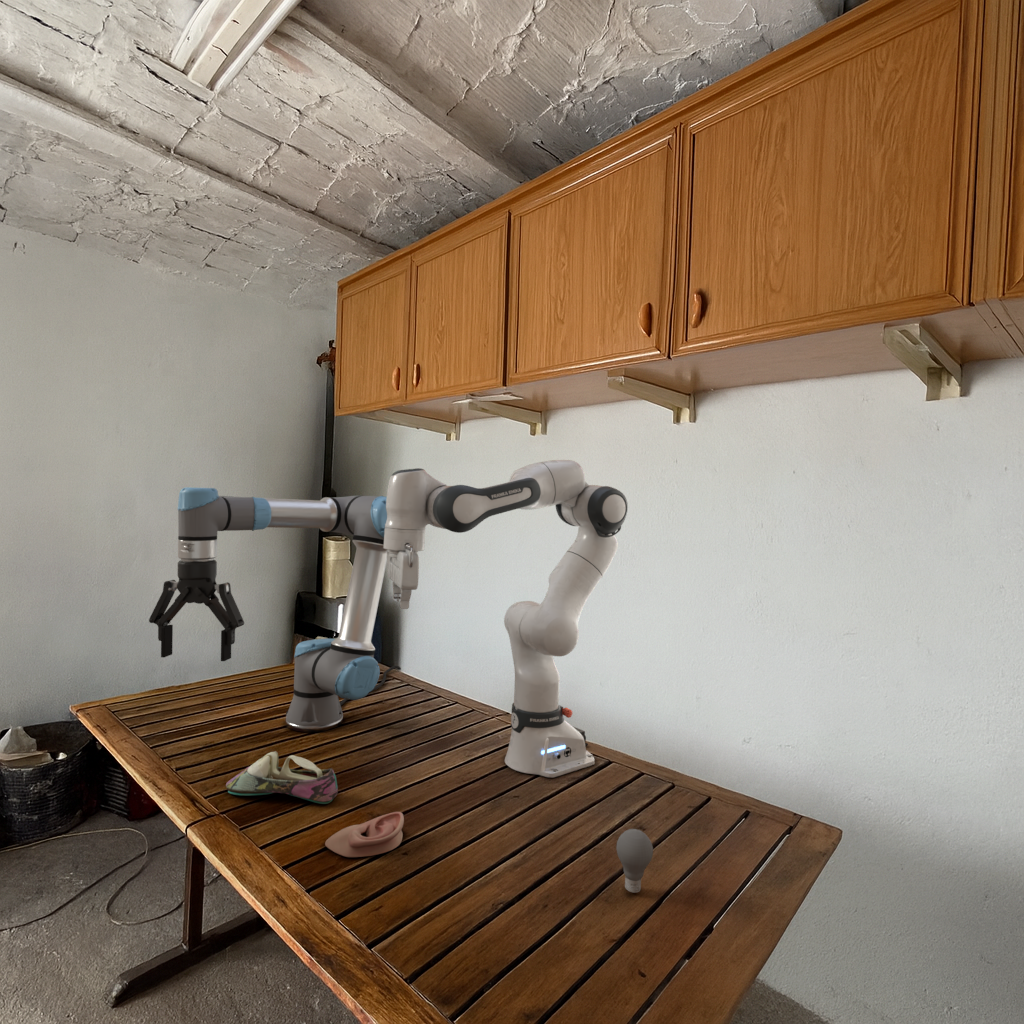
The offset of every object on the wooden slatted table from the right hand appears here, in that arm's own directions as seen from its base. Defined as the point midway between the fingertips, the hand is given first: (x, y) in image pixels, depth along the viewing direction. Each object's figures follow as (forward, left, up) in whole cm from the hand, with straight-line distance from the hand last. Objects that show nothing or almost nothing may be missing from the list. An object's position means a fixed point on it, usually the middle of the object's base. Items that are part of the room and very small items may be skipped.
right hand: (400, 604), depth 139 cm
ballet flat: (+22, -5, -40) cm, 46 cm away
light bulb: (-26, +52, -40) cm, 70 cm away
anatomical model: (+11, +20, -40) cm, 46 cm away
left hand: (+39, -17, -13) cm, 45 cm away
